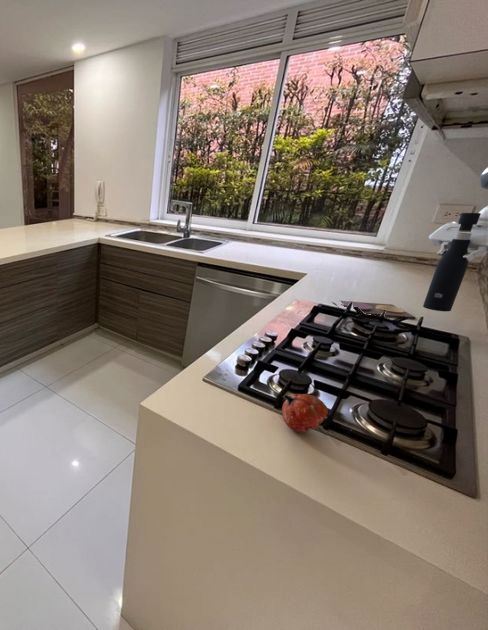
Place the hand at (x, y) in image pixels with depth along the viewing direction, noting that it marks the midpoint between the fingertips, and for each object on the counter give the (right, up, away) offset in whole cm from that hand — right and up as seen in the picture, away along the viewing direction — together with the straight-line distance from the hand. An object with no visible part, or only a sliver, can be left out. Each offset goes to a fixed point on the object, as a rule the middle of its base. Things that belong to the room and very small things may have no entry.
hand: (452, 257), depth 105 cm
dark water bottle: (+1, -16, +6) cm, 17 cm away
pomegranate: (-75, -40, -39) cm, 93 cm away
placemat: (-6, -16, +22) cm, 28 cm away
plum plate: (-10, -16, +23) cm, 30 cm away
